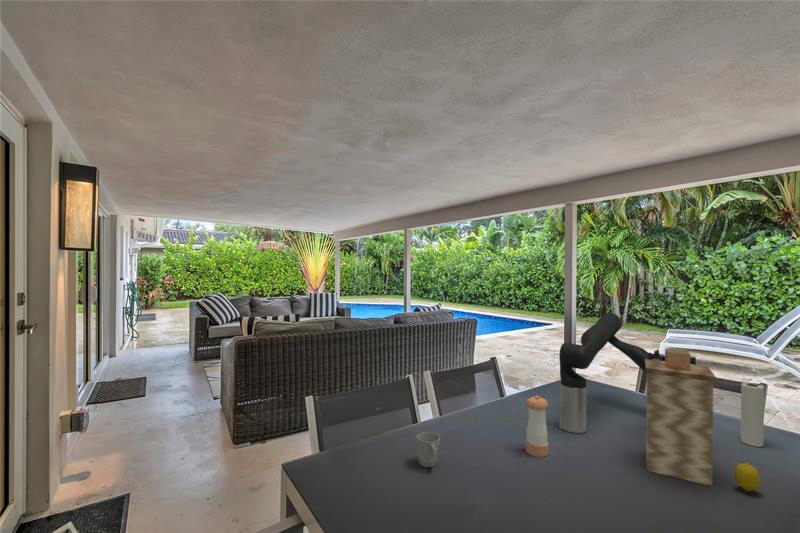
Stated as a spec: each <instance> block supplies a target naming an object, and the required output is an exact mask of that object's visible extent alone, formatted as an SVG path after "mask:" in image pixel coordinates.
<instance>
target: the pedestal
mask: <svg viewBox="0 0 800 533" xmlns="http://www.w3.org/2000/svg"><path fill="white" fill-rule="evenodd" d="M645 368H646V373H645V374H646V380H645V381H646V396H645V397H646V398H645V404H646V405H645V414H646V415H645V460H646V470H647V471H648V472H652V473H657V474H660V475H665V476H667V477H673V478H676V479H681V480H686V481H688V482H689V481H690V482H694V483H697V484H702V485H706V486H710V487H713V459H714V458H713V456H714V455H713V454H714V450H713V448H714V445H713V444H714V441H713V439H714V437H713V436H714V431H713V430H714V383H716V382H717V380H716V378H717V377H716V375H715V374H714V373H713V371H712V370H711V369H710V367H709V366H708V365H701V364H696V365H694V364H690V370H681V369H673V368H666V365H665V361H658V360H649V359H645Z"/></svg>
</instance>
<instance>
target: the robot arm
mask: <svg viewBox="0 0 800 533" xmlns="http://www.w3.org/2000/svg"><path fill="white" fill-rule="evenodd" d="M622 327H623V320H622V319H621V317H619V315H617V314H615V313H612V312H605V313H603V314H602V316H600V317H599V319H598V320H597V321H596V322H595V324H593V325H592V326H590V327H589V328H588V329H586V331H584V332H583V333H582V334H581V336H580V342H581V343H580V344H576V343H570V342H568V343H567V342H565V343H562V345H561V346H560V348H559V376H560V378H559V379H560V403H559V419H558V420H559V426H558V427H559V429H560V430H563V431H565V432H569V433H573V434H584V433H585V432H586V431H587V379H586V378H585V377H583V376H582V375H580V374H579V373H577V372H576V371H575V370H574V369H578V370H586V369H588V368H589V367H590V365H591V364H592V363H593V360H594V359H595V357H596V356H597V354H598V353H599V352H600V351H601V350H602V349H603V348H604V347H605V346H606V345H607V343H608V344H610V345H612V346H613V347H614V348H616V350H619V351H620V352H621V353H623V354H624V355H625V356H626V357H628V358H629V359H630V360H631V361H632V362H634V363H635V364H636V366H638V367H639V368H640V369H641V371H643V372H644V373H645V374H647V373H646V368H645V359H649V360H658V361H665V354H662V353H660V350H659V349H656V350H653V353H652V352H648V351H647V350H645V349H644V348H643V347H640V346H639V345H638V346H637V345H635V344H631V343H628V342H625V341H622V340H620V339H619V338H618V337H617V336H615V335H616V334H617V333H618V332H619V331H620V330H621V328H622ZM691 355H692V354H690V364H694V365H697V358H696V357H694V356H691Z"/></svg>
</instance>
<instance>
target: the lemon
mask: <svg viewBox="0 0 800 533" xmlns="http://www.w3.org/2000/svg"><path fill="white" fill-rule="evenodd" d="M733 475H734V480H735V482H736V483H737V485H738V486H739V487H740V488H741V489H743V490H744V491H745V492H749V493H750V492H752V491H756V490H758V489H759V488H760V485H761V476H760V473H759V471H758V470H757V468H755V467H754V466H753V465H751V464H750V463H748V462H745V463H739V464H737V465H736V466H735V468H734V472H733Z"/></svg>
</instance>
